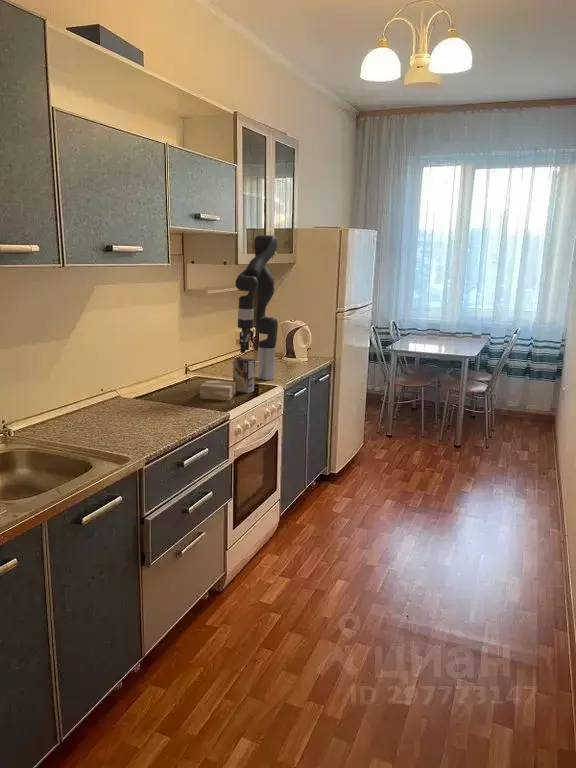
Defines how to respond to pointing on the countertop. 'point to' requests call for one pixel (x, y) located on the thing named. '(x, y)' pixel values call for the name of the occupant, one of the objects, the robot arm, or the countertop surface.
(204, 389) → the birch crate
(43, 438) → the countertop surface
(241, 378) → the coffee box
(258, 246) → the robot arm
